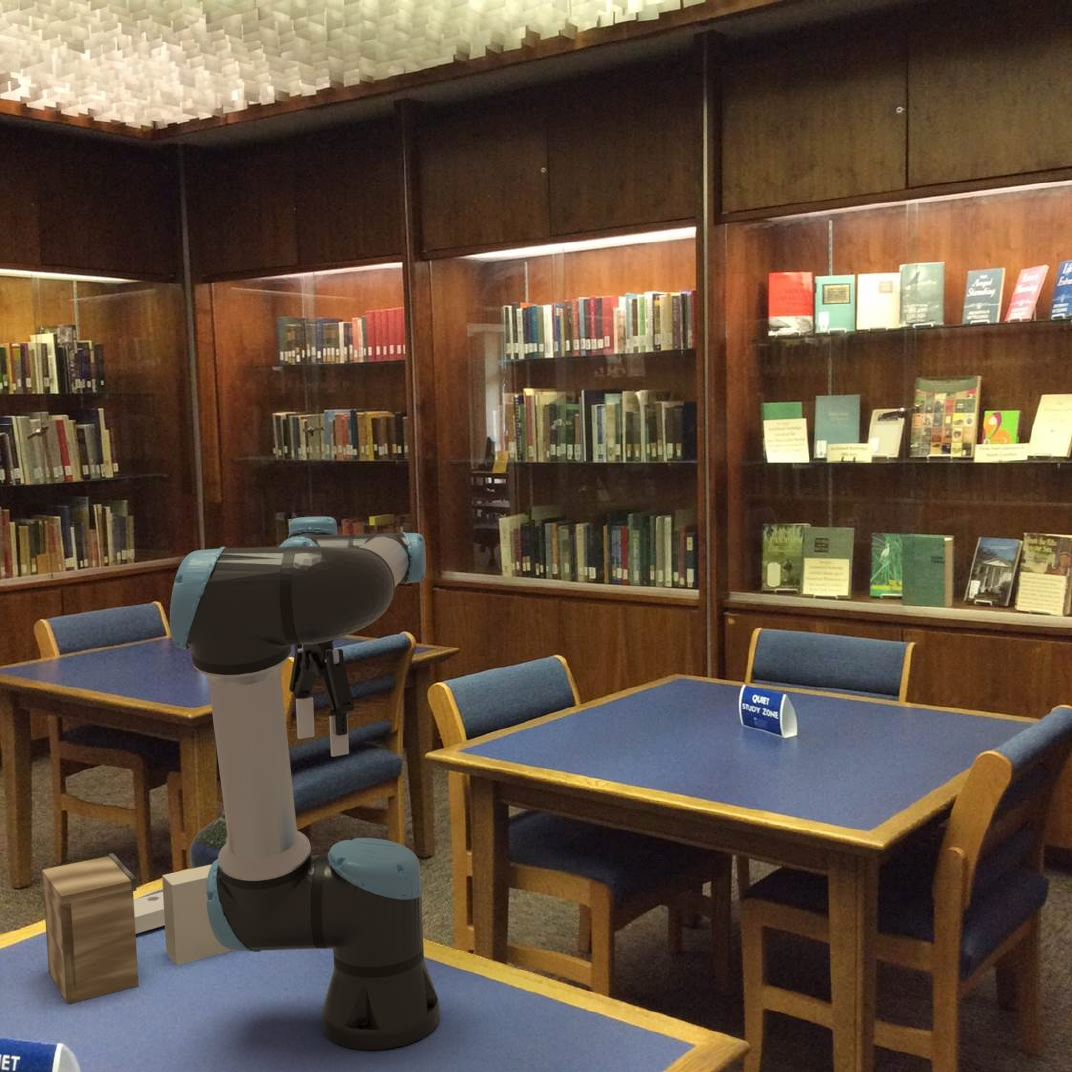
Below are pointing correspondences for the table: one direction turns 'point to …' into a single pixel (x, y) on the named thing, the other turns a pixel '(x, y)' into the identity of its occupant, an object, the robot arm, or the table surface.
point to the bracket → (149, 912)
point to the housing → (90, 927)
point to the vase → (208, 843)
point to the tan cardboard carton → (188, 916)
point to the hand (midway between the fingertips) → (322, 746)
